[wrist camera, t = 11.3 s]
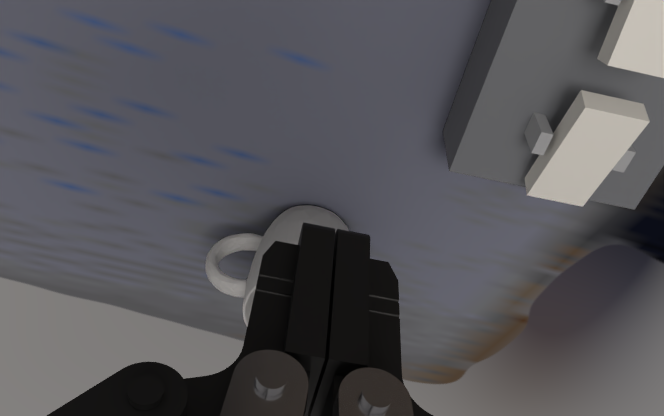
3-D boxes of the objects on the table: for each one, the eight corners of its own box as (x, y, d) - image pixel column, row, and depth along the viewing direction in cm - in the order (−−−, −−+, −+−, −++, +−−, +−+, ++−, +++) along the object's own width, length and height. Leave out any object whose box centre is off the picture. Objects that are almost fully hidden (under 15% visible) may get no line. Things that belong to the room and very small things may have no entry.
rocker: (580, 90, 37) (585, 107, 36) (643, 103, 38) (649, 121, 37) (524, 177, 43) (526, 195, 42) (578, 189, 44) (582, 206, 43)
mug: (366, 198, 53) (365, 282, 45) (353, 274, 59) (350, 360, 51) (217, 181, 53) (190, 262, 45) (219, 258, 58) (194, 342, 51)
